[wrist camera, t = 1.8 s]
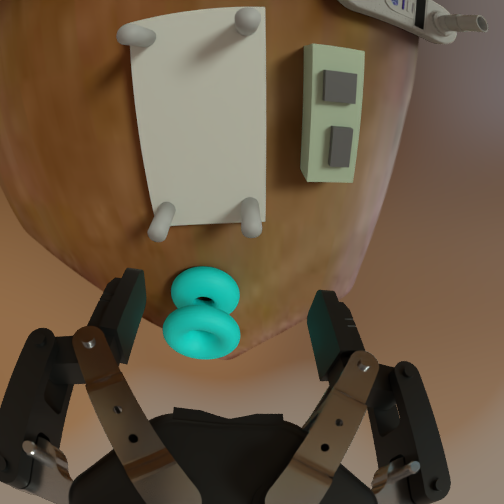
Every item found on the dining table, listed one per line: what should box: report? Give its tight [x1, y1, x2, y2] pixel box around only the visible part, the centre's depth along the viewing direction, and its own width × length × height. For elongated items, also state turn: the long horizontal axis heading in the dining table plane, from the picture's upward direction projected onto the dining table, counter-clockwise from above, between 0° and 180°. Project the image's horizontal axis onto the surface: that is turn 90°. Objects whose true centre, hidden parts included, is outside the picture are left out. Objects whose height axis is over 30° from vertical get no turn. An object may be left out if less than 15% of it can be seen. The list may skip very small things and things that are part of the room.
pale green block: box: [300, 44, 365, 183], centre depth 24 cm, size 14×5×5 cm, turn 1°
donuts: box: [163, 266, 240, 359], centre depth 37 cm, size 10×10×10 cm
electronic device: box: [338, 0, 488, 44], centre depth 14 cm, size 5×10×15 cm
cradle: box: [117, 7, 266, 242], centre depth 23 cm, size 24×13×6 cm, turn 1°
